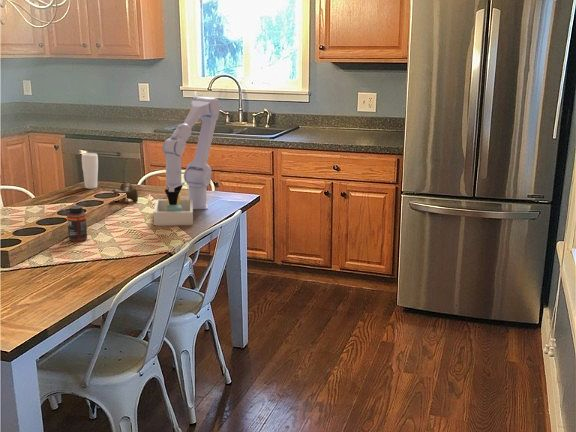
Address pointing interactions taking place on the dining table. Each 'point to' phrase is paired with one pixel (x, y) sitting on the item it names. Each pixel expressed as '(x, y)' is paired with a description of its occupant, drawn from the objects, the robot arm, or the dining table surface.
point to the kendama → (128, 191)
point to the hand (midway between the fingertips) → (174, 205)
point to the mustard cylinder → (177, 200)
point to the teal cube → (174, 208)
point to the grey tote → (173, 214)
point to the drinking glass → (90, 169)
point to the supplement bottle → (77, 224)
